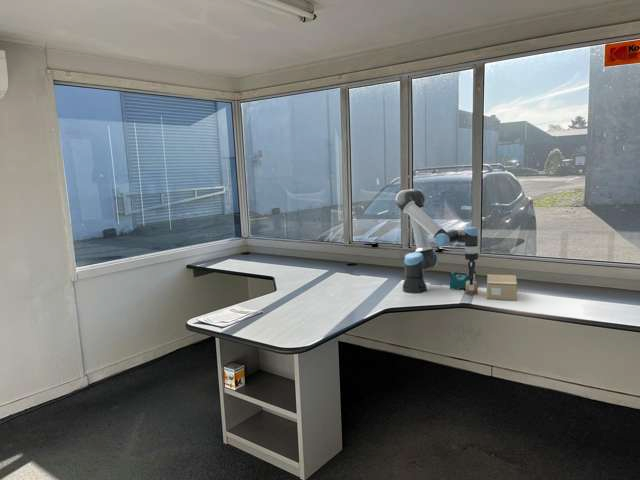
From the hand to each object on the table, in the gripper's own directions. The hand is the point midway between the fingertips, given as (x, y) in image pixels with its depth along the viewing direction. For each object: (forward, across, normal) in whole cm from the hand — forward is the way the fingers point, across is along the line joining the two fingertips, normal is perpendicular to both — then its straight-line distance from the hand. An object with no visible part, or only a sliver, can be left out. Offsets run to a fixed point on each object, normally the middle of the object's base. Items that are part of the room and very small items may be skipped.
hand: (472, 287), depth 275 cm
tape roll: (+4, 0, 0) cm, 4 cm away
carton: (+4, -1, -17) cm, 17 cm away
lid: (-5, -1, -17) cm, 17 cm away
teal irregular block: (+4, +16, +8) cm, 18 cm away
